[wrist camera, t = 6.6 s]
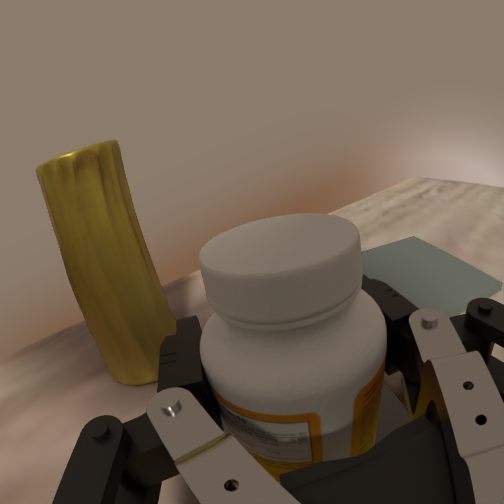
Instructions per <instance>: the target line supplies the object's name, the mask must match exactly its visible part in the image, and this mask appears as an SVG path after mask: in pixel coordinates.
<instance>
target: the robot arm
mask: <svg viewBox="0 0 504 504" xmlns="http://www.w3.org/2000/svg"><path fill="white" fill-rule="evenodd" d="M361 289H362V290H363V291H365V292H366V293H367V294H368V295H370V296H371V297H372V298H373V299H374V301H375V302H376V303H377V305H378V306H379V308H380V309H381V312H382V314H383V316H384V318H385V323H386V330H387V350H386V361H385V372H386V373H387V374H388V375H391V374H393V373H396V372H398V371H400V372H401V373H402V380H401V383H402V388H403V392H404V397H405V402H406V407H407V412H408V417H409V423H407V424H405V425H403V426H401V427H399V428H397V429H395V430H393V431H392V432H391V433H389V434H388V435H387V436H386V437H385V438H383V439H382V440H381V441H379V442H378V443H377V444H376V445H374V446H373V447H372V448H370V449H369V450H368V451H366V452H365V453H363V454H361V455H358V456H353V457H348V458H343V459H337V460H330V461H324V462H318V463H315V464H312V465H309V466H306V467H303V468H300V469H297V470H293V471H290V472H287V473H283V474H280V475H278V476H279V479H280V482H281V485H280V484H279V483H278V482H277V481H276V480H275V479H274V478H273V477H272V476H271V475H270V474H269V473H268V472H267V471H266V470H265V469H264V468H263V467H262V466H261V465H260V464H259V463H258V462H257V461H256V460H255V459H254V458H253V457H252V456H251V455H250V454H249V453H248V452H247V451H246V450H245V449H244V447H243V446H242V445H241V444H240V443H239V442H238V441H237V440H236V439H235V438H234V437H233V436H232V435H231V434H229V433H228V434H227V435H226V434H225V433H224V432H223V431H224V428H223V423H222V418H221V412H220V410H219V407H218V405H217V402H216V400H215V397H214V395H213V393H212V390H211V388H210V385H209V383H208V380H207V378H206V375H205V371H204V368H203V365H202V362H201V356H200V339H201V335H202V330H201V327H200V324H199V321H198V318H197V316H196V315H195V316H191V317H187V318H183V319H179V320H177V321H176V334H174V335H170V336H166V337H165V339H164V340H163V342H162V344H161V345H160V352H159V356H160V358H159V368H158V389H157V394H156V395H154V396H153V397H152V398H151V400H150V401H149V403H148V405H147V412H146V413H145V414H143V415H141V416H139V417H137V418H135V419H132V420H130V421H128V422H125V423H123V424H122V423H121V421H120V420H119V419H118V418H116V417H114V416H110V415H104V416H99V417H96V418H94V419H92V420H91V421H89V422H88V423H87V424H86V425H85V426H84V428H83V429H82V431H81V433H80V436H79V438H78V440H77V443H76V445H75V447H74V450H73V452H72V454H71V457H70V459H69V462H68V464H67V467H66V469H65V472H64V474H63V477H62V479H61V482H60V484H59V487H58V489H57V492H56V495H55V497H54V500H53V503H52V504H158V500H159V495H160V489H161V484H162V481H164V480H166V479H169V478H171V477H173V476H176V475H178V474H181V475H182V477H183V478H184V480H185V481H186V483H187V484H188V486H189V487H190V489H191V490H192V492H193V493H194V495H195V496H196V497H197V499H198V500H199V502H200V503H201V504H504V363H503V362H502V361H500V360H498V359H497V358H495V357H493V356H491V354H492V350H493V347H494V344H495V343H496V344H498V345H500V346H501V347H503V348H504V305H503V304H501V303H499V302H497V301H494V300H492V299H489V298H476V299H473V300H471V301H470V302H469V303H468V305H467V309H466V314H463V315H458V316H453V317H448V316H447V315H446V314H445V313H444V312H443V311H441V310H438V309H434V308H423V309H419V308H418V307H416V306H415V305H414V304H413V303H411V302H410V301H409V300H407V299H406V298H405V297H404V296H402V295H400V294H399V293H398V292H397V291H396V290H393V288H392V287H390V286H389V285H388V284H386V283H385V282H383V281H380V280H377V279H374V278H373V279H369V278H368V277H367V276H366V275H364V274H363V276H362V286H361Z"/></svg>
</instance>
